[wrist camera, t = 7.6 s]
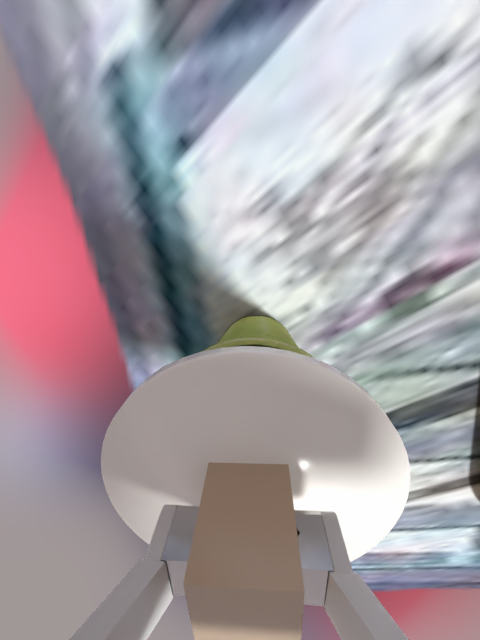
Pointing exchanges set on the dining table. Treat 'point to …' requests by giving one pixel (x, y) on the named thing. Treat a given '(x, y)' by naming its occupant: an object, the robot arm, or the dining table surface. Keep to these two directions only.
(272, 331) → the plant pot
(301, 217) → the dining table surface
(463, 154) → the dining table surface
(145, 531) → the lid
